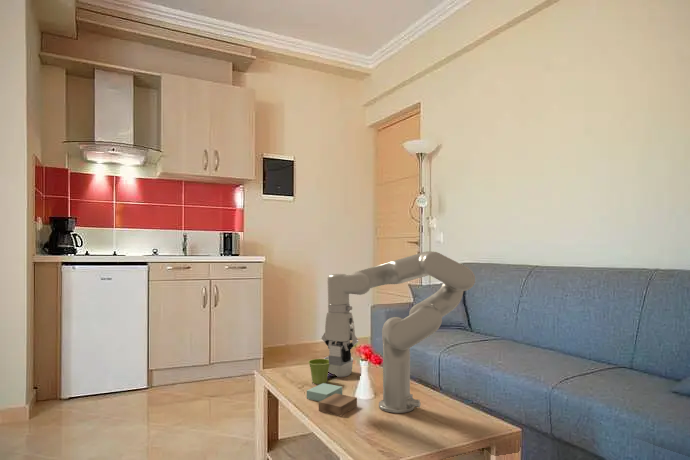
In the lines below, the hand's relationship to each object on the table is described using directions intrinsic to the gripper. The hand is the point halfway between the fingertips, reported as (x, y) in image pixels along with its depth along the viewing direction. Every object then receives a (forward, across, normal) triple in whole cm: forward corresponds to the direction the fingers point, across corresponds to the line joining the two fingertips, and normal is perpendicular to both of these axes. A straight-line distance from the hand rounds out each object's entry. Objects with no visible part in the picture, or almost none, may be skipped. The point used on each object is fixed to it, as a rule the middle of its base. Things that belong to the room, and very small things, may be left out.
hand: (340, 359), depth 163 cm
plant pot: (+17, +24, -21) cm, 36 cm away
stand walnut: (+17, +1, +1) cm, 17 cm away
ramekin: (+17, +24, -36) cm, 47 cm away
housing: (+1, 0, 0) cm, 1 cm away
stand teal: (+17, +12, -7) cm, 22 cm away
